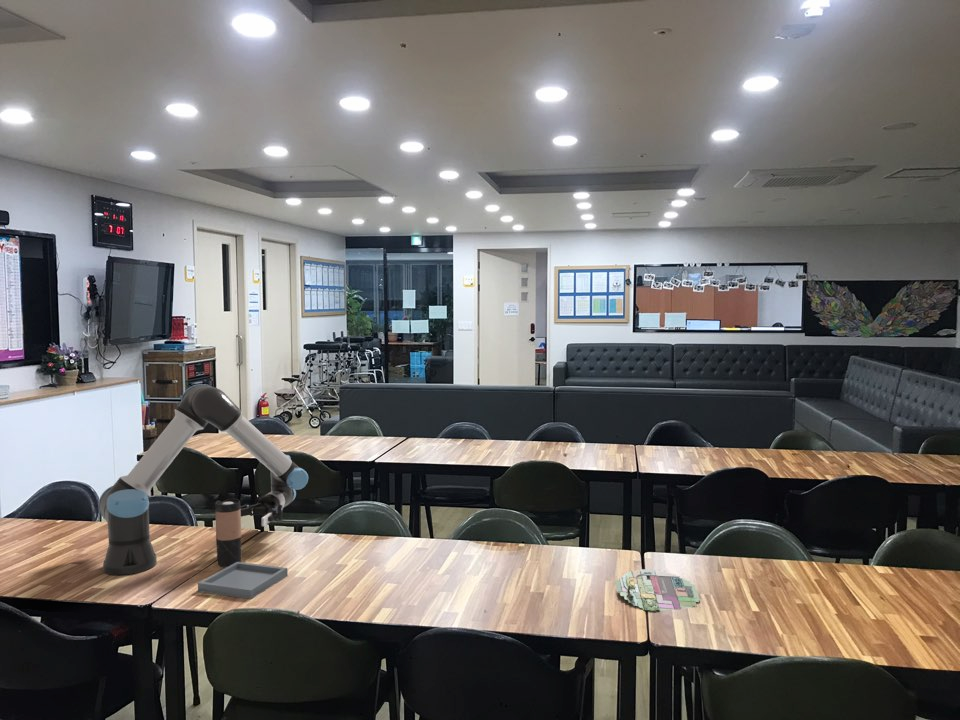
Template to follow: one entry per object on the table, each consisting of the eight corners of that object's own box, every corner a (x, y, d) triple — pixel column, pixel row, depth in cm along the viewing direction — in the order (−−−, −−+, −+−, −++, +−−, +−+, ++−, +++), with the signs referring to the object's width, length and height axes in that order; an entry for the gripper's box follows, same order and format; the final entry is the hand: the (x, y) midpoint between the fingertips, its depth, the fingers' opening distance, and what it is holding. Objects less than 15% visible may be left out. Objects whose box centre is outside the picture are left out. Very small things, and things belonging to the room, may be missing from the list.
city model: (636, 627, 184) (638, 605, 183) (597, 583, 206) (598, 564, 205) (718, 616, 191) (721, 596, 190) (672, 575, 213) (674, 557, 212)
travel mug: (237, 567, 221) (235, 505, 220) (212, 567, 222) (211, 505, 220) (245, 559, 229) (244, 498, 228) (222, 558, 229) (220, 498, 228)
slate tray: (197, 591, 203) (197, 582, 202) (237, 569, 220) (237, 561, 220) (251, 599, 197) (251, 590, 197) (287, 576, 214) (287, 567, 214)
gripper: (303, 515, 254) (279, 534, 233) (238, 513, 257) (208, 531, 236) (303, 494, 253) (278, 511, 232) (237, 492, 257) (207, 509, 236)
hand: (243, 521), depth 234 cm, fingers open, 13 cm apart
